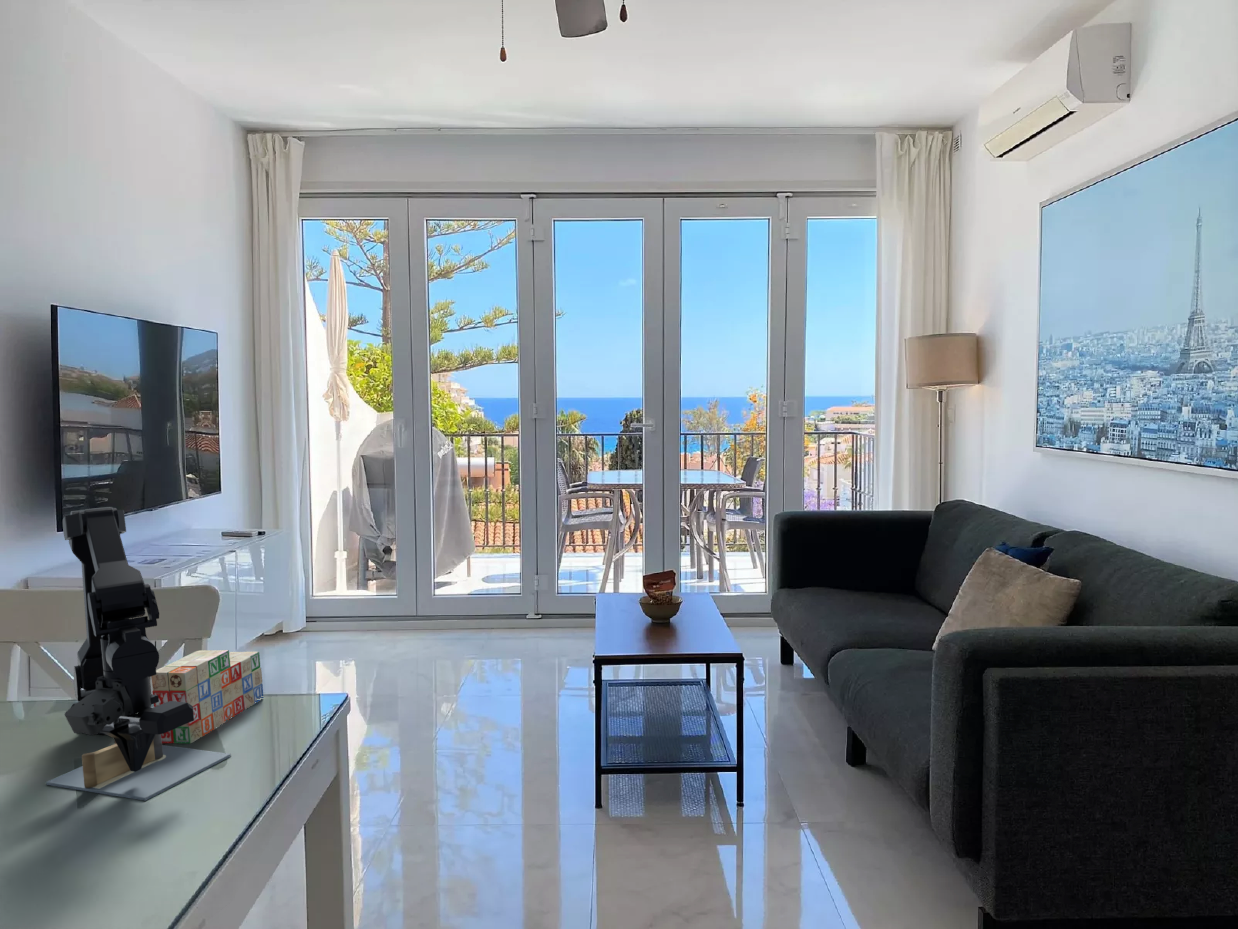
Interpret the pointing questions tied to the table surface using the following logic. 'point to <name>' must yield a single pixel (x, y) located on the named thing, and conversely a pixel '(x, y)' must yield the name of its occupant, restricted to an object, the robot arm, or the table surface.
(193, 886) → the table surface
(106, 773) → the folding fence panel
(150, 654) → the robot arm
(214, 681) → the stack of blocks
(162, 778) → the board
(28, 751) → the table surface
